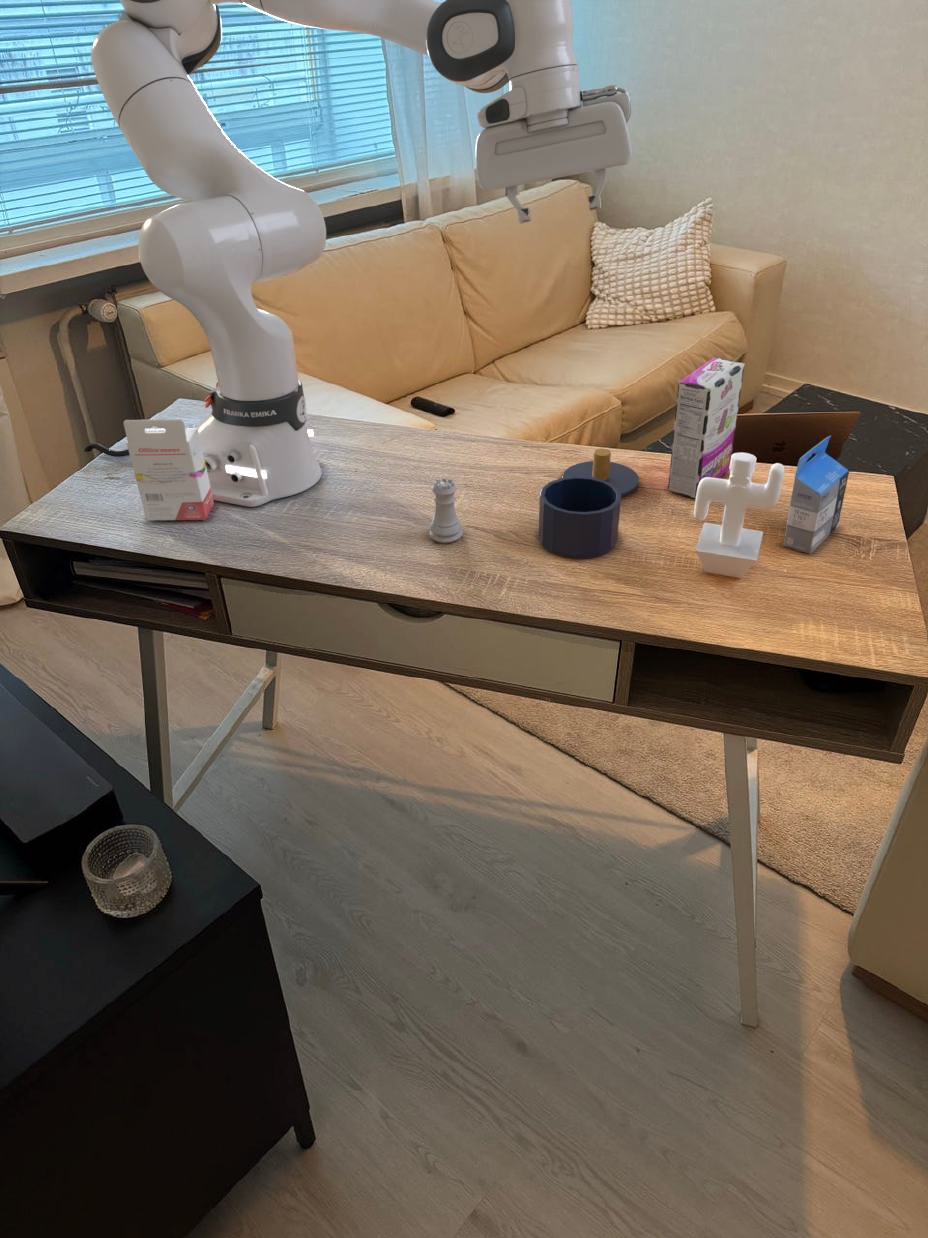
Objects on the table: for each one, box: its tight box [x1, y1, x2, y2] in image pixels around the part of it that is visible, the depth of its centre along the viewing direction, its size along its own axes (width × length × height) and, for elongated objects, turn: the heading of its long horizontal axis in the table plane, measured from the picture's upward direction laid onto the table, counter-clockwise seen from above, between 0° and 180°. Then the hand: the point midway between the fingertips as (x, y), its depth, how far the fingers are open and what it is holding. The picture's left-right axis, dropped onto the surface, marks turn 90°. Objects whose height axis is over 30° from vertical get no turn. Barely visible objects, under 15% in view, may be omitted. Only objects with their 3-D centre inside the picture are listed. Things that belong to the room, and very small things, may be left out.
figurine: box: [693, 452, 786, 579], centre depth 110 cm, size 7×9×15 cm
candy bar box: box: [667, 357, 746, 500], centre depth 128 cm, size 11×5×16 cm, turn 143°
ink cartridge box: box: [123, 418, 215, 521], centre depth 124 cm, size 9×5×15 cm, turn 88°
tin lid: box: [561, 448, 640, 497], centre depth 132 cm, size 11×11×5 cm
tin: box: [538, 476, 622, 560], centre depth 119 cm, size 10×10×6 cm
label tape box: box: [783, 435, 850, 555], centre depth 116 cm, size 9×4×12 cm, turn 139°
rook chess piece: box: [429, 477, 464, 544], centre depth 120 cm, size 4×4×8 cm
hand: (560, 216), depth 123 cm, fingers open, 8 cm apart
